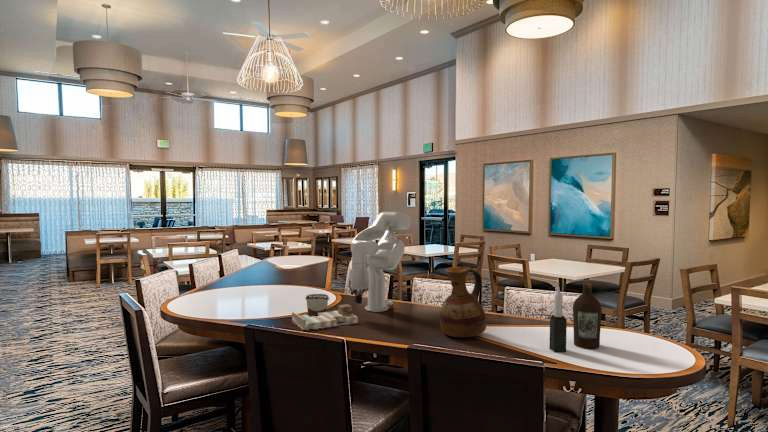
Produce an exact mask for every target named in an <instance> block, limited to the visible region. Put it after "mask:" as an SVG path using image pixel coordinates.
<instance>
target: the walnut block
mask: <svg viewBox="0 0 768 432" xmlns="http://www.w3.org/2000/svg"><path fill="white" fill-rule="evenodd" d="M352 307H353V306H352V305H350V304H348V303H345V304H339V305H338V306H337V310H338V314H340V315H342V316H343V315H350V314H353V309H352Z"/></svg>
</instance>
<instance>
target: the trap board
mask: <svg viewBox="0 0 768 432" xmlns="http://www.w3.org/2000/svg"><path fill="white" fill-rule="evenodd" d="M291 314H292V315H291V322H292V324H294V326H296V325H297V326H296V327H297V328H299V327H300V328H301V329H300V328H299V329H300V330H302V329H303V330H307V331H310V330H309V329H314V330H320V329H319V328H321V329H325V328H326V329H328V328H333V327H340V326H346V325H351V324H358V321H359V320H358V318H359V316H357V315H355V314H353V313H352V314H350V315H343V316H342V315H340V314H338V309H337V310H331V311H330V310H329V311H327V312H322V313H318V316H315V315H311V316H310V315H308V314H299V313H296V312H295V311H291ZM303 330H302V331H303Z"/></svg>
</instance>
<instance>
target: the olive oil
mask: <svg viewBox="0 0 768 432" xmlns="http://www.w3.org/2000/svg"><path fill="white" fill-rule="evenodd" d="M582 285H583V287H582V293H581V294H580V295H579V296H578V297H577V298H576V299H575V300H574V302H573V304H572V319H573V345H574V346H576V347H578V348H581V349H586V350H587V349H588V350H597V349H599V348H600V343H601V342H600V341H601V340H600V339H601V327H602V326H601V324H602V315H603V314H602V313H603V309H602V303H601V302H600V301H599V299H597V298H596V297H595V296H594V294H593V285H592V284H591V283H582Z"/></svg>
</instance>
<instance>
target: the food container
mask: <svg viewBox="0 0 768 432" xmlns="http://www.w3.org/2000/svg"><path fill="white" fill-rule="evenodd" d="M305 300H306V306H307V307H306V308H307V315H308V316H315V315H318V313H322V312H328V311H327V310H328V304H329V303H328V302H329V301H330V296H329V295H328V294H327V293H312V294H311V293H310V294H307V295H306V297H305Z"/></svg>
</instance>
